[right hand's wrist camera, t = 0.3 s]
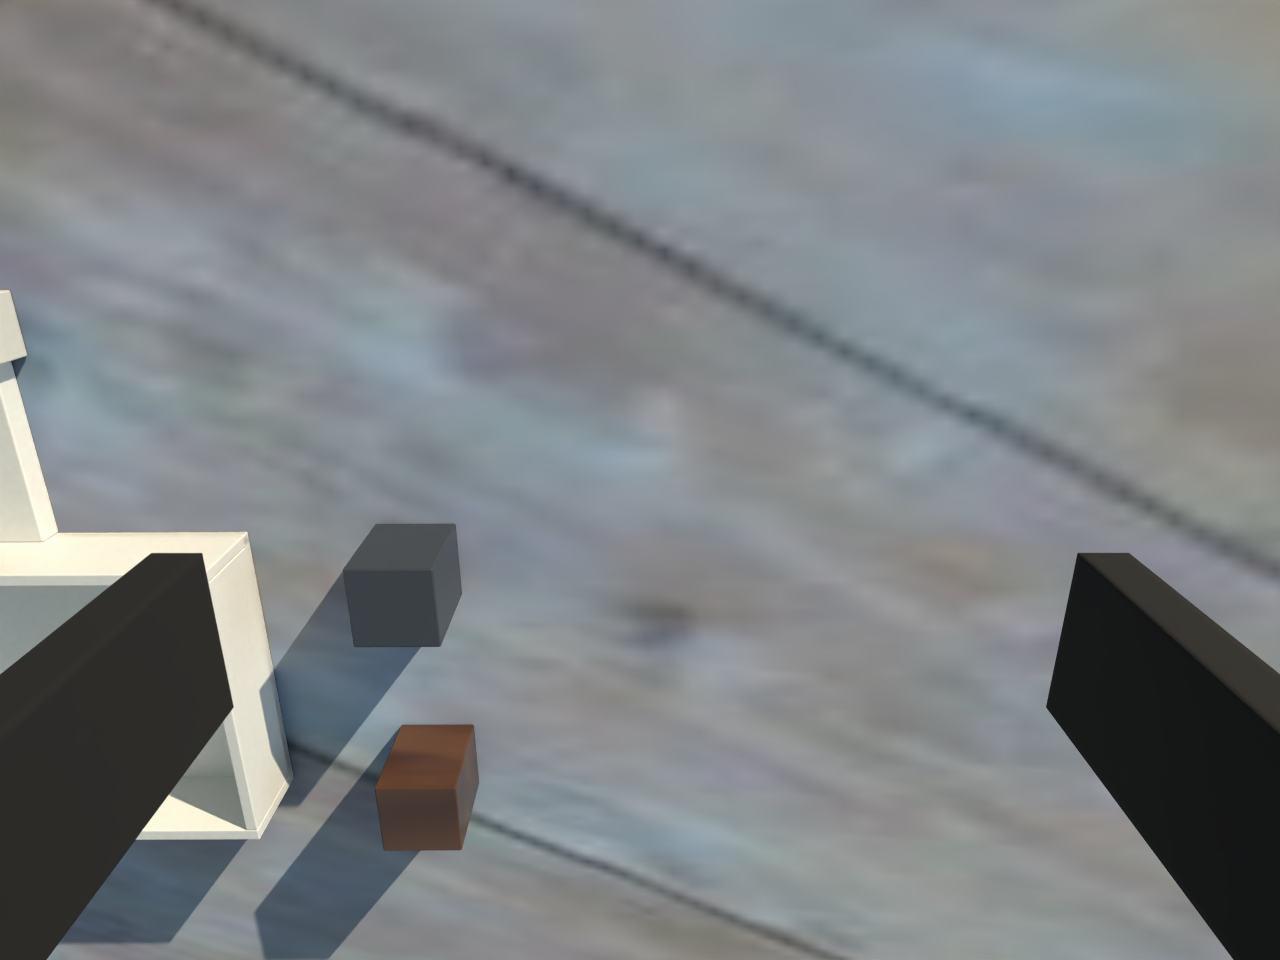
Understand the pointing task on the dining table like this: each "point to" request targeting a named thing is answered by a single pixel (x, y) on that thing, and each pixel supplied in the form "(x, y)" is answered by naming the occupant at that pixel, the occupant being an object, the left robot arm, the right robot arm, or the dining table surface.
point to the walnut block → (428, 788)
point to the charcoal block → (403, 585)
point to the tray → (91, 562)
